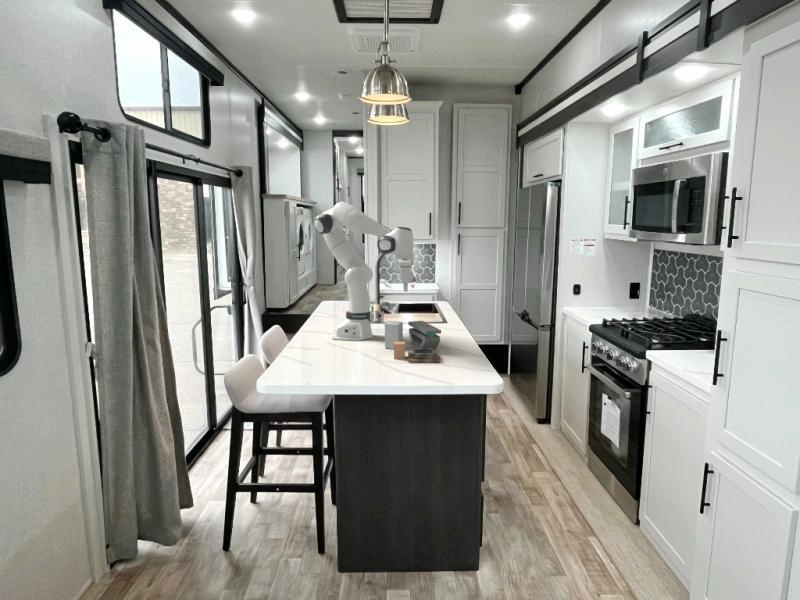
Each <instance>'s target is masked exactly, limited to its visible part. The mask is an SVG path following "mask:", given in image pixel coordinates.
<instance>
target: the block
mask: <svg viewBox="0 0 800 600" xmlns="http://www.w3.org/2000/svg"><path fill="white" fill-rule="evenodd" d="M393 359H394V360H406V341H403V342H394V349H393Z"/></svg>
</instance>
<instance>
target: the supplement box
mask: <svg viewBox="0 0 800 600" xmlns="http://www.w3.org/2000/svg"><path fill="white" fill-rule="evenodd" d="M403 329H404V327H403V321H391V320H390V321H388V322H385V323H384V348H389V350H390V349H391V350H394V342H404V341H403V340H404V337H403V336H404V333H403V332H404V331H403Z"/></svg>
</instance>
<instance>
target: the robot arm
mask: <svg viewBox="0 0 800 600" xmlns="http://www.w3.org/2000/svg"><path fill="white" fill-rule="evenodd" d="M313 219H314V220H313V225H314V229H315V230H316V231H317V232H318V233H319V234H320V235H322V236H323V239H324V241H325V243H326V245H327V247H328V249H329V251H330V252H331V254H332V255H333V257H334V258H335V260H336V262H337V263H338V264H339V265H340V266H342V268H343V269H344V270H345V271H346V272H345V274H344V283H345V284H346V287H347V294H348V299H349V309H348V310H347V311H346V312H345V318H344V319H343V320H342V321H341V322H339V323H338V325H337V326H336V329H335V333H332V334H331V340H334V341H336V340H337V341H355V342H359V341H360V342H361V341H363V340H369V339H373V337H374V335H373V331H372V330H373V329H372V325H371V323H372V312H371V298H370V297H371V296H370V295H369V291H368V284H369V283H370V282H371V281H372V279H373V277H374V276H373V275H374V272H373V270H372V268H371V267H370V266H369V265H368V264H367V263H366V261H364V259H362V257H361V256H360V255H359V254H358V253H357V252H356V250H355V248H354V246H353V245H352V244H351V242H350V241H349V239H348V237H347V236H346V234H345V233H344V229H348V230H349V231H351V232H353V233H356V234H365V235H372V236H374V237H378V239H377V242H376V243H377V244H376V246H377V249H378V251H379V253H381V254H382V255H383V254H384V255H395V260H394V261H395V266H398V267H397V268H398V269H399V273H400V280H401V283H402V285H403V291H404V293H405V292H407V293H408V291H409V290H408V289H409V288H408V287H409V283H410V281H411V271H412V267H413V266H414V265H415V253H414V246H415V243H414V234H413V231H412V229H411V228H410V227H408V226H397V227H395V228H394V229H393V230H392V229H390V228H388V227H387V226H385V225H383V224H381V223H380V222H378V221H376V220H375V219H373V218H372V217H370V216H369V215H367V214H366V213H365V212H363V211H361V210H360V209H358V208H357V207H355V206H353V205H352V204H350V203H348V202H345V201H340V202H339V201H338V202H337V203H336V204H335V205H333V207H332V208H331V207H330V208H329V209H327V210H326V211H323V212H322V213H319V214H318V215H316V216H315V217H314V218H313Z"/></svg>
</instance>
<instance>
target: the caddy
mask: <svg viewBox="0 0 800 600" xmlns="http://www.w3.org/2000/svg"><path fill="white" fill-rule="evenodd" d="M411 350H412V351H408V352H407V356H408V357H407V358H408V359H407V360H408V363H409V362H410V363H409V364H422V363H423V364H440V363H441V359H440V356H439V352H437V351H435V349H434V348H416V347H412V349H411ZM408 363H407V364H408Z"/></svg>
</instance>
